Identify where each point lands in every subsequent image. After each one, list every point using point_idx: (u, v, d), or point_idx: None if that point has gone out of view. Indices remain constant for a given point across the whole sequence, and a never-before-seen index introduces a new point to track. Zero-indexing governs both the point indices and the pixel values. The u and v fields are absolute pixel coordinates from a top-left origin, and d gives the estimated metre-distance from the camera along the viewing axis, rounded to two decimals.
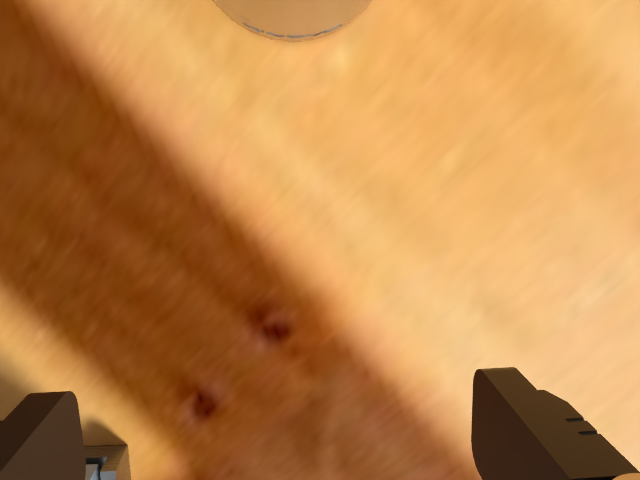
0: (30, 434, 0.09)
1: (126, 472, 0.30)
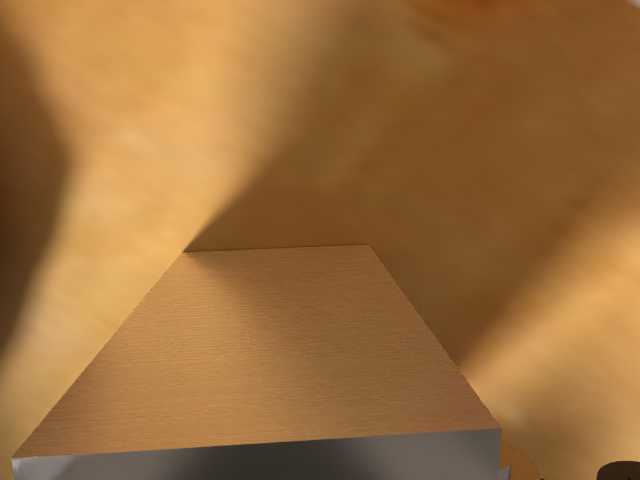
0: None
1: None
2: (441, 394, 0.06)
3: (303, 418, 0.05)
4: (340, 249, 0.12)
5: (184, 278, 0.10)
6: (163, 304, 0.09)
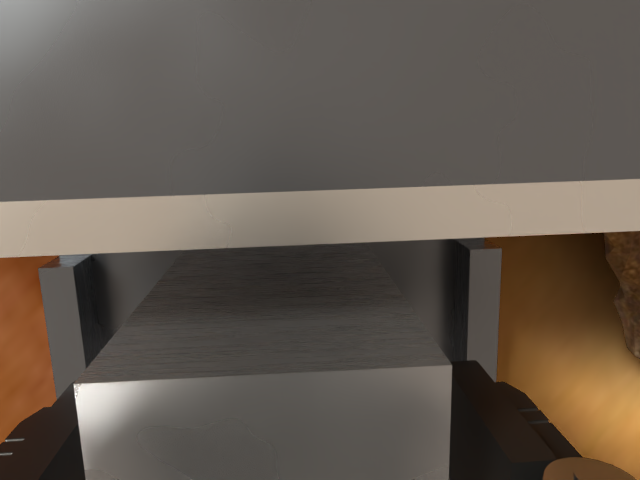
0: None
1: None
2: (409, 344, 0.07)
3: (299, 359, 0.07)
4: None
5: (195, 260, 0.12)
6: (179, 281, 0.10)
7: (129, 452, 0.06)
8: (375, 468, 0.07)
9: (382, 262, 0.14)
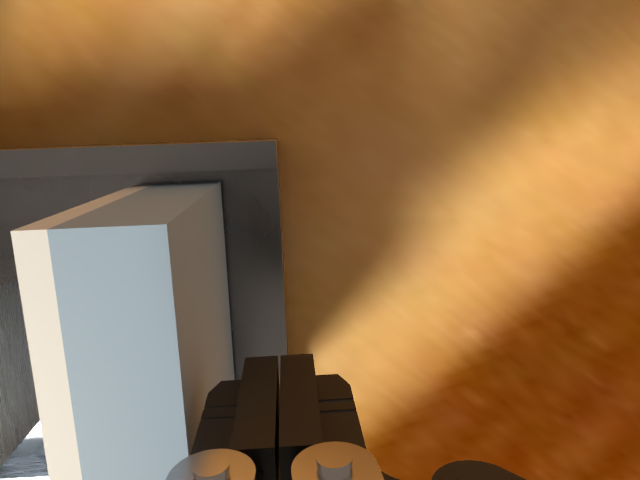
0: (275, 387, 0.10)
1: None
2: None
3: None
4: None
5: None
6: None
7: None
8: None
9: None
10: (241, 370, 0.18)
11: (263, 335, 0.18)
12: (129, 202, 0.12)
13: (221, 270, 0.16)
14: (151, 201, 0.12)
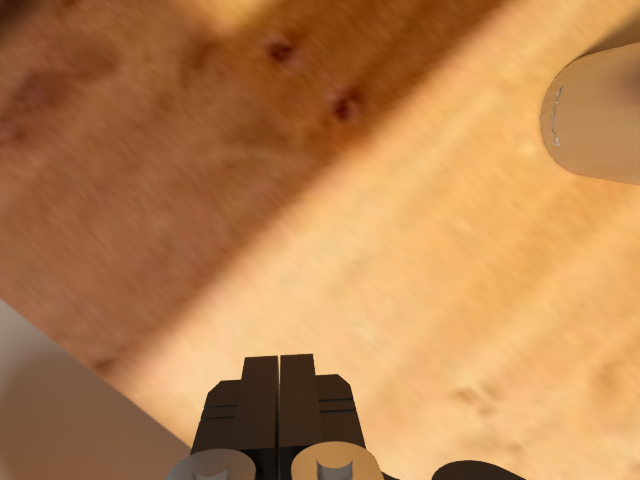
0: (275, 387, 0.10)
1: None
2: None
3: None
4: None
5: None
6: None
7: None
8: None
9: None
10: None
11: None
12: None
13: None
14: None
